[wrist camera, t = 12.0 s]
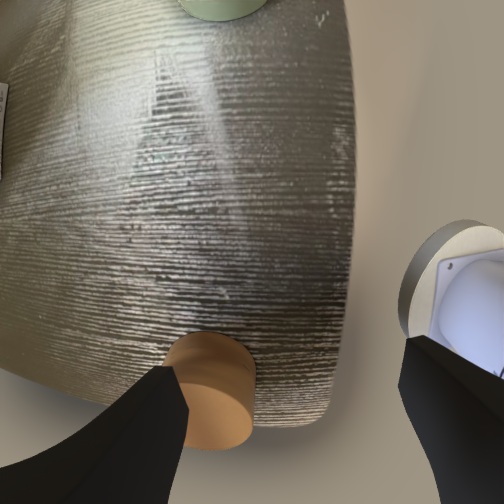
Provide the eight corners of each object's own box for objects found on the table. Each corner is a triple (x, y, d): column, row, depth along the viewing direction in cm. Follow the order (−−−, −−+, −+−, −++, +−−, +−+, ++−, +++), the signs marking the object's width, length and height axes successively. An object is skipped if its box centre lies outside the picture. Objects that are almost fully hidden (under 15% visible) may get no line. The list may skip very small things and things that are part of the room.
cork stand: (249, 327, 19) (243, 381, 14) (261, 396, 21) (259, 450, 16) (156, 333, 20) (128, 381, 15) (181, 398, 22) (164, 447, 17)
